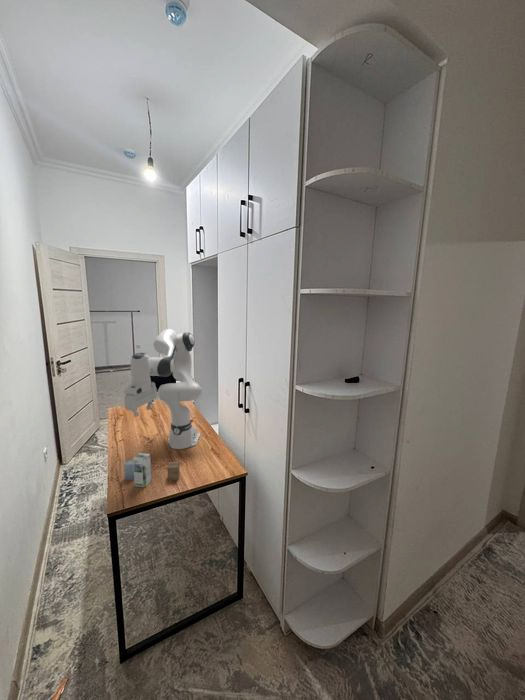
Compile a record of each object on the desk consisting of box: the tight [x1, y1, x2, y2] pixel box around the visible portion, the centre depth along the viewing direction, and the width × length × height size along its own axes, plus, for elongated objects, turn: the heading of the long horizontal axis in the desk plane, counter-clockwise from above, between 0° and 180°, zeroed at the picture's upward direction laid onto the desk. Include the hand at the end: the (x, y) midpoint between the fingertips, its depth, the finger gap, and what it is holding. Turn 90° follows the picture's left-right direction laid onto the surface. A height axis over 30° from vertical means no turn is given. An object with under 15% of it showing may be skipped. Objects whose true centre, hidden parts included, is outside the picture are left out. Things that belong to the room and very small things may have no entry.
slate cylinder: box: [123, 459, 134, 482], centre depth 144 cm, size 5×5×8 cm
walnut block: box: [166, 461, 180, 482], centre depth 145 cm, size 5×5×7 cm
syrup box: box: [132, 452, 152, 488], centre depth 139 cm, size 6×6×14 cm
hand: (142, 412), depth 144 cm, fingers open, 8 cm apart
